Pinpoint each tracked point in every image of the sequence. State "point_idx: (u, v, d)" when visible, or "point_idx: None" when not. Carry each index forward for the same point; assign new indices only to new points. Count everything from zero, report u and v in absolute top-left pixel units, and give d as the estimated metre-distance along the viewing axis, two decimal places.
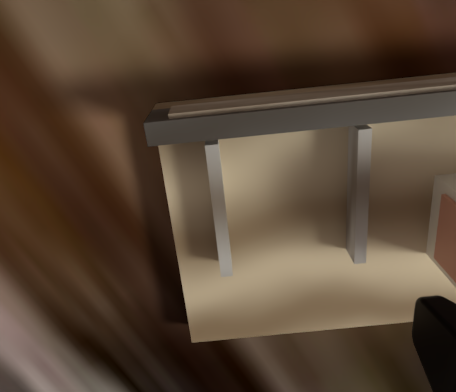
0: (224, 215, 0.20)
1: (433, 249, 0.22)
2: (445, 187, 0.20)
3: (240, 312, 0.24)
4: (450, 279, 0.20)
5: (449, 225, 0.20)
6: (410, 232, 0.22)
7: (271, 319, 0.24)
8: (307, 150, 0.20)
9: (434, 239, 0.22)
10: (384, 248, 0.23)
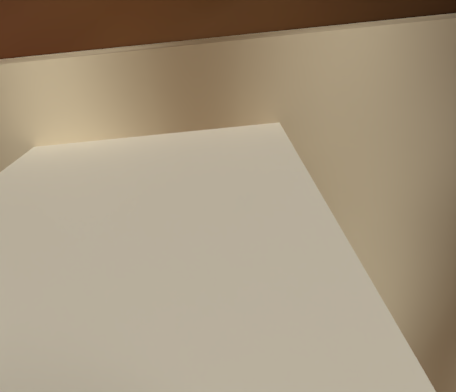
0: None
1: None
2: None
3: None
4: None
5: None
6: None
7: None
8: None
9: None
10: None
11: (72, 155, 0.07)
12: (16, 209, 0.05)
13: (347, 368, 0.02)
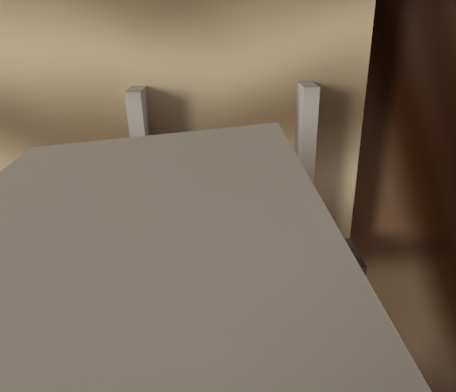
0: None
1: None
2: None
3: None
4: None
5: None
6: (63, 102, 0.17)
7: None
8: None
9: None
10: (93, 81, 0.17)
11: (71, 156, 0.07)
12: (14, 209, 0.05)
13: (343, 368, 0.02)
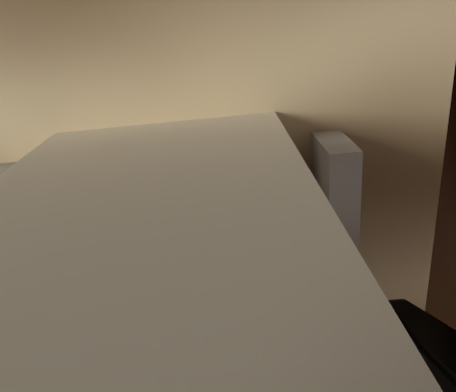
0: None
1: None
2: None
3: None
4: None
5: None
6: None
7: None
8: None
9: None
10: None
11: (90, 139, 0.08)
12: (49, 180, 0.06)
13: (316, 273, 0.03)
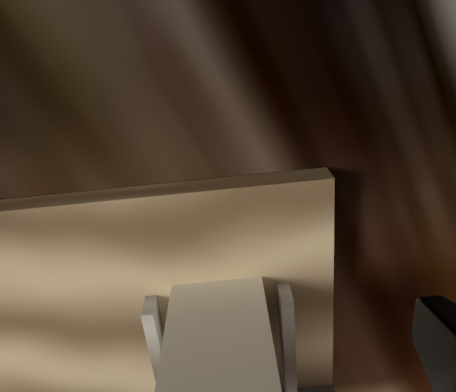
0: (285, 356, 0.21)
1: None
2: None
3: (269, 221, 0.20)
4: None
5: None
6: (92, 310, 0.22)
7: (231, 210, 0.20)
8: None
9: None
10: (115, 295, 0.21)
11: (189, 293, 0.20)
12: (186, 322, 0.18)
13: (266, 366, 0.16)
